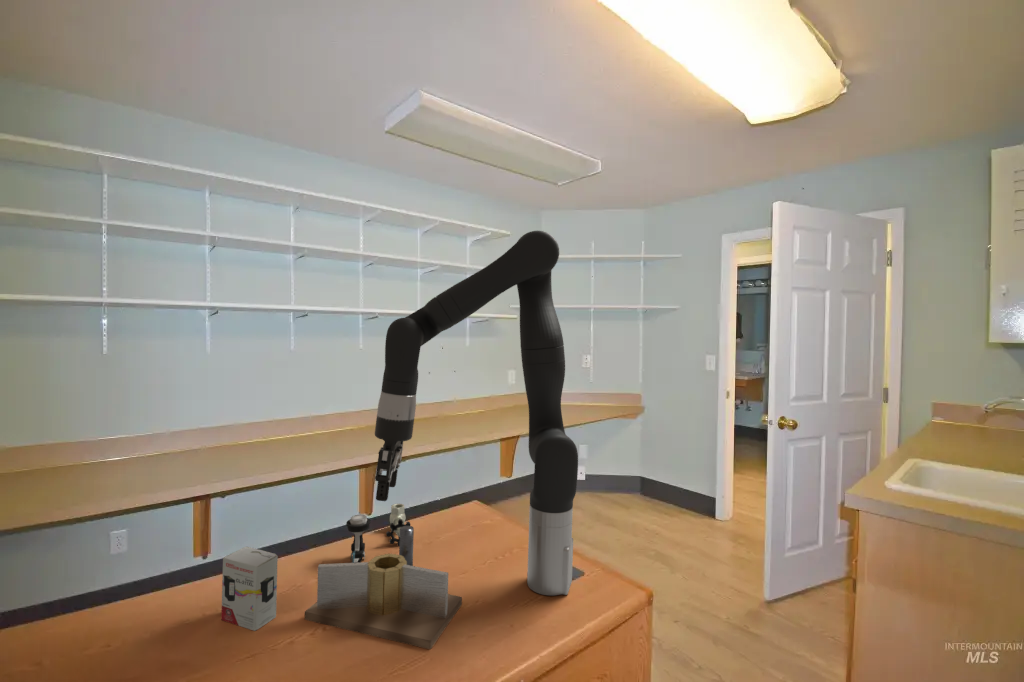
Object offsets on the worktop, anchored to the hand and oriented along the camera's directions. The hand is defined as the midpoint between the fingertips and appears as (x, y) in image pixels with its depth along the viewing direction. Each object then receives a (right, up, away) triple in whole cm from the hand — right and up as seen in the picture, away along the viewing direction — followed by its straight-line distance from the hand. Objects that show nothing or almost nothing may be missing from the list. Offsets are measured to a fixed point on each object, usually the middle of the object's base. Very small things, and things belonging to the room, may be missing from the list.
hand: (386, 493), depth 98 cm
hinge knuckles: (+2, -19, -8) cm, 21 cm away
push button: (-10, -20, +12) cm, 26 cm away
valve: (-4, -20, +26) cm, 33 cm away
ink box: (-23, -20, -10) cm, 32 cm away
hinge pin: (+2, -20, +8) cm, 22 cm away
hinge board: (+2, -21, -7) cm, 22 cm away
